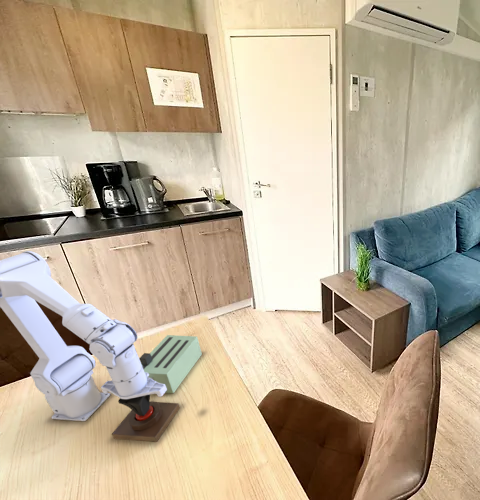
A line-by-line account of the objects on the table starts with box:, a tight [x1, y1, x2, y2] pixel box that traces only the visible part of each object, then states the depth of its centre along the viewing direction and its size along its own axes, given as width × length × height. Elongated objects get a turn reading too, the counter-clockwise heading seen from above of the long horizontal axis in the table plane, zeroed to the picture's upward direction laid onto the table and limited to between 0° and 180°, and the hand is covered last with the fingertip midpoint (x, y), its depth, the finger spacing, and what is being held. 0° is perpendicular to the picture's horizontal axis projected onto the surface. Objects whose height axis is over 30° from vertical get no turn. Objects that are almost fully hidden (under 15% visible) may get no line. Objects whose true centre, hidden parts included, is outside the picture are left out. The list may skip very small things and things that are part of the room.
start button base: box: [111, 401, 181, 443], centre depth 72 cm, size 11×9×4 cm
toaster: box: [142, 334, 203, 394], centre depth 85 cm, size 10×17×8 cm, turn 176°
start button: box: [136, 406, 154, 421], centre depth 71 cm, size 4×4×2 cm
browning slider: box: [139, 352, 152, 365], centre depth 80 cm, size 2×2×3 cm
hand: (144, 412), depth 71 cm, fingers closed, pressing on start button
